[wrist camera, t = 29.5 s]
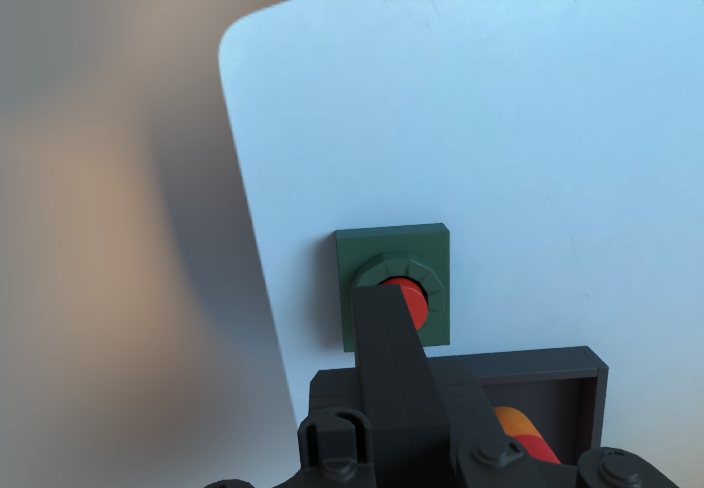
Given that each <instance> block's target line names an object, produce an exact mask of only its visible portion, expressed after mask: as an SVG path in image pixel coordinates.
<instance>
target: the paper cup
mask: <svg viewBox="0 0 704 488" xmlns="http://www.w3.org/2000/svg"><path fill="white" fill-rule="evenodd" d="M493 410H494V412H495V414H496V415H497V417H498V419H499V421H500V423H501V425H502V427H503V429H504V431H505V433H506V434H507V435H510V436H511V437H513V438H515V439H516V440H518V441H519V442H521V443H522V445H523V446H524V447H525V448H526V449H527V451H528V452H529V454H530V456H532V457H534V458H537V459H539V460H543V461H548V462H552V463H558V464H561V463H560V461H559V460H558V459H557V457H556V456H555V454H554V453H553V452H552V450H551V449H550V447H549V446H548V445H547V443H546V442H545V440H544V439H543V438H542V436H541V435H540V434H539V432H538V431H537V430H536V428H535V427H534V426H533V424H532V423H531V422H530V420H529V419H528V418H527V417H526V416H525V415H524V414H523V413H522V412H520V411H519V410H517V409H514V408H511V407H494V408H493Z"/></svg>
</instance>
